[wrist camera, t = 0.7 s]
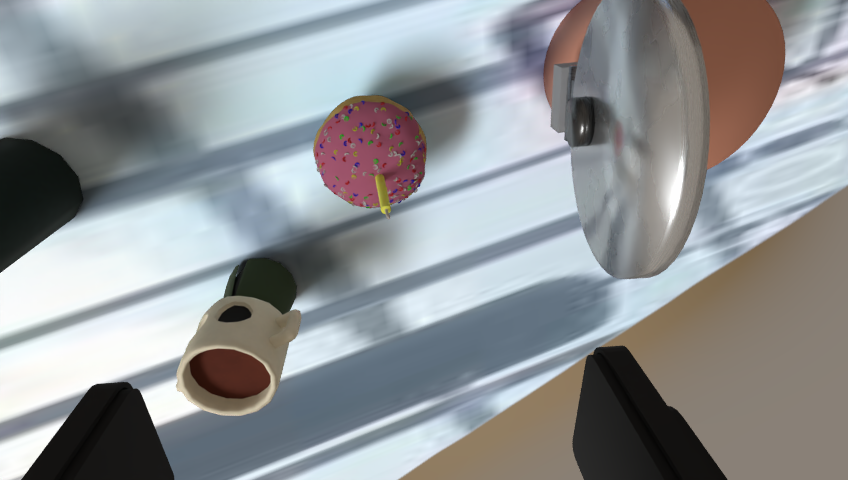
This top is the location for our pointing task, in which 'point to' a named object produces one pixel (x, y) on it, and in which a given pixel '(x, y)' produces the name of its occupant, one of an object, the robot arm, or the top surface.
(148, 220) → the top surface
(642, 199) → the lid
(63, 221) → the wine bottle
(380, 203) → the cupcake
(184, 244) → the top surface
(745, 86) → the pot
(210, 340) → the character mug
